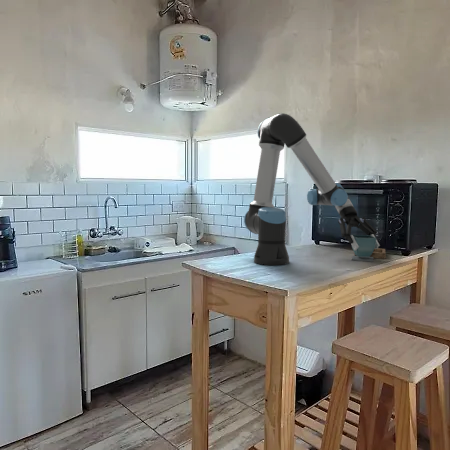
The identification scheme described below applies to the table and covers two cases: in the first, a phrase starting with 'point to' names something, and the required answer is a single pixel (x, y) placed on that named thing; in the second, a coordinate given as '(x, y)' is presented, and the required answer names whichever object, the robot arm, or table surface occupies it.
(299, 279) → the table surface
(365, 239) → the flower pot
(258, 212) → the robot arm
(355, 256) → the mat
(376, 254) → the wooden tray
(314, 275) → the table surface
